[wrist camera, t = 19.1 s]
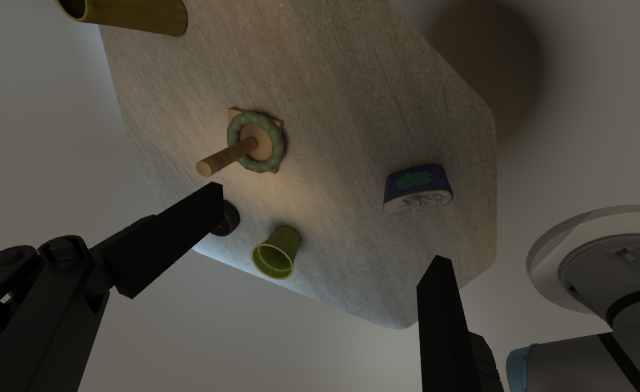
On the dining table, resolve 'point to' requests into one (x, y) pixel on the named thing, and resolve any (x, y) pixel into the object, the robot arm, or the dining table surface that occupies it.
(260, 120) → the ring
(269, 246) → the plant pot
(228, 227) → the smart speaker
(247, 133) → the post
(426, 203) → the flask
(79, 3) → the vase
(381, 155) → the dining table surface
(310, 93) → the dining table surface
